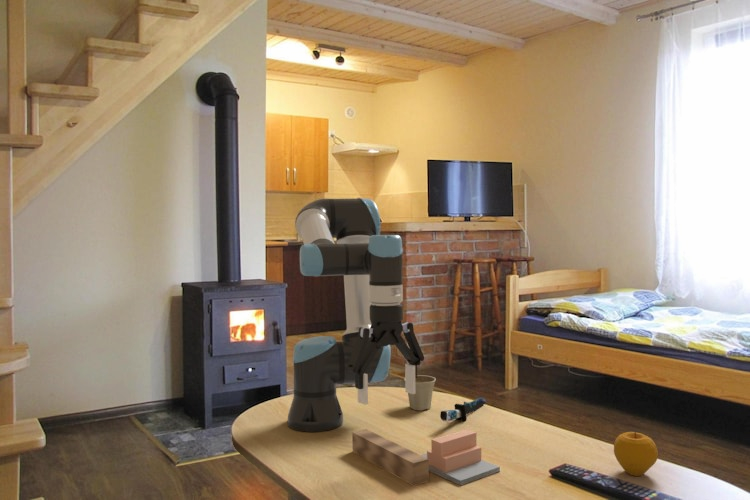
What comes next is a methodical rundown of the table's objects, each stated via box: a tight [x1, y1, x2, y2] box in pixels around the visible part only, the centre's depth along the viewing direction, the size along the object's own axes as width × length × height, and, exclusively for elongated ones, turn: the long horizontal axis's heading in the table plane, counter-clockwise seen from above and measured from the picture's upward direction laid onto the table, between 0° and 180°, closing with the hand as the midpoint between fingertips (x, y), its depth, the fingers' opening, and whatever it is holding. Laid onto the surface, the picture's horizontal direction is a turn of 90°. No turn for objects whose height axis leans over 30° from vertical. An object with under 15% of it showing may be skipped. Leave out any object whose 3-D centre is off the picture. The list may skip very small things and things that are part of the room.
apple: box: [613, 431, 659, 477], centre depth 136 cm, size 9×9×9 cm
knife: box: [439, 397, 487, 423], centre depth 177 cm, size 31×3×4 cm, turn 145°
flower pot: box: [403, 374, 437, 411], centre depth 186 cm, size 9×9×9 cm
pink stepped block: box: [420, 429, 501, 486], centre depth 141 cm, size 16×12×7 cm
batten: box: [352, 428, 430, 486], centre depth 142 cm, size 24×4×5 cm, turn 34°
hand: (387, 398), depth 141 cm, fingers open, 13 cm apart
